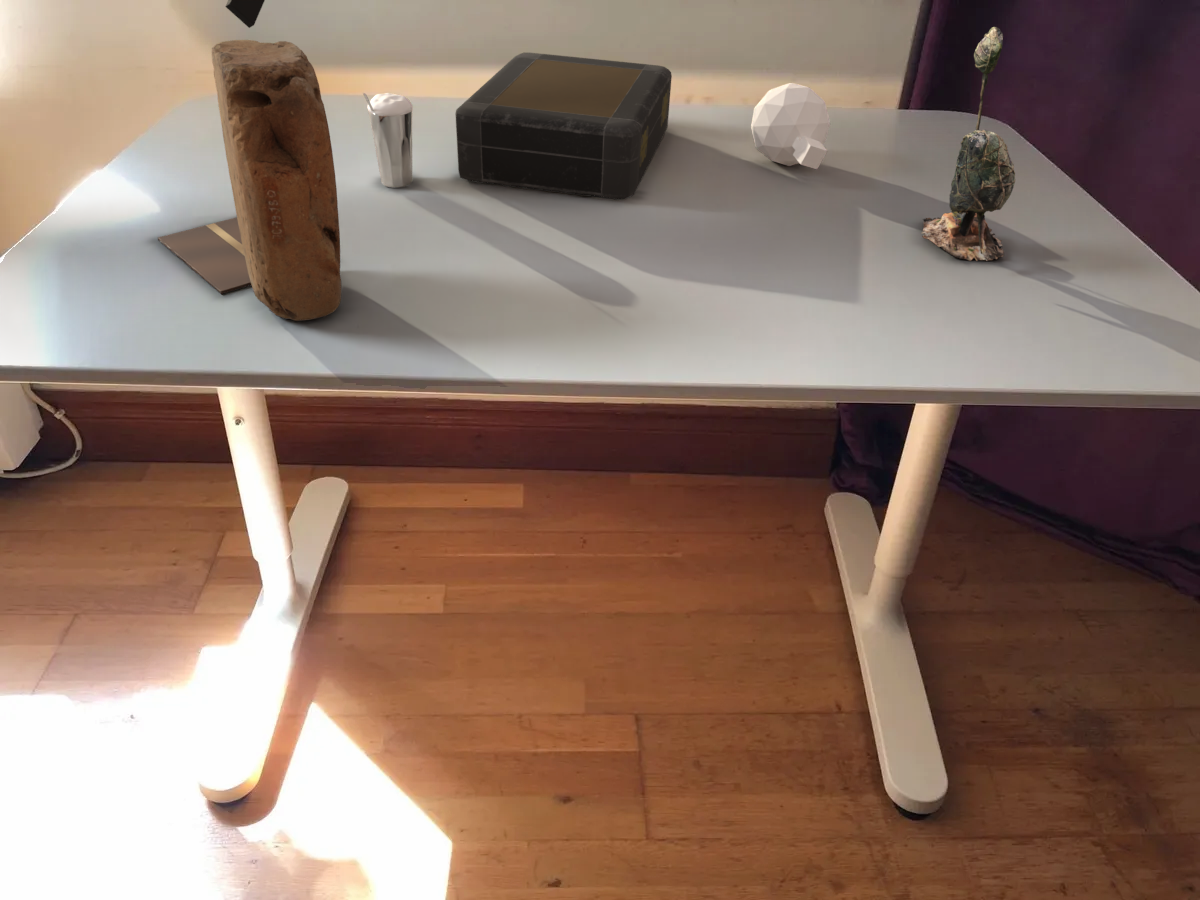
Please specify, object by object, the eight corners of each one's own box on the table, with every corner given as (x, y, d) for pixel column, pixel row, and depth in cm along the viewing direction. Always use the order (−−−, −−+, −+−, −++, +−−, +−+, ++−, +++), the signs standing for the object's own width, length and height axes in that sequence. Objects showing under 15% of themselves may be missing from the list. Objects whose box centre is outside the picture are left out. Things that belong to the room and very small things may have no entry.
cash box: (514, 111, 123) (513, 48, 118) (669, 128, 120) (674, 65, 115) (448, 181, 103) (444, 109, 99) (631, 204, 100) (636, 131, 96)
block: (245, 272, 84) (200, 33, 71) (331, 260, 87) (302, 28, 74) (264, 334, 76) (218, 80, 64) (358, 319, 79) (331, 72, 67)
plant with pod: (917, 264, 92) (974, 45, 79) (920, 219, 100) (972, 15, 88) (1005, 278, 90) (1078, 56, 78) (1000, 231, 99) (1065, 25, 87)
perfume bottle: (727, 133, 114) (762, 183, 106) (763, 59, 108) (803, 106, 100) (787, 151, 117) (825, 200, 109) (824, 80, 112) (868, 127, 104)
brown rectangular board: (158, 240, 89) (157, 236, 89) (258, 214, 95) (257, 210, 95) (221, 294, 81) (220, 290, 81) (326, 262, 87) (326, 258, 87)
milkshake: (360, 184, 102) (349, 88, 96) (399, 171, 105) (391, 77, 99) (388, 196, 100) (378, 98, 94) (427, 182, 103) (420, 87, 97)
